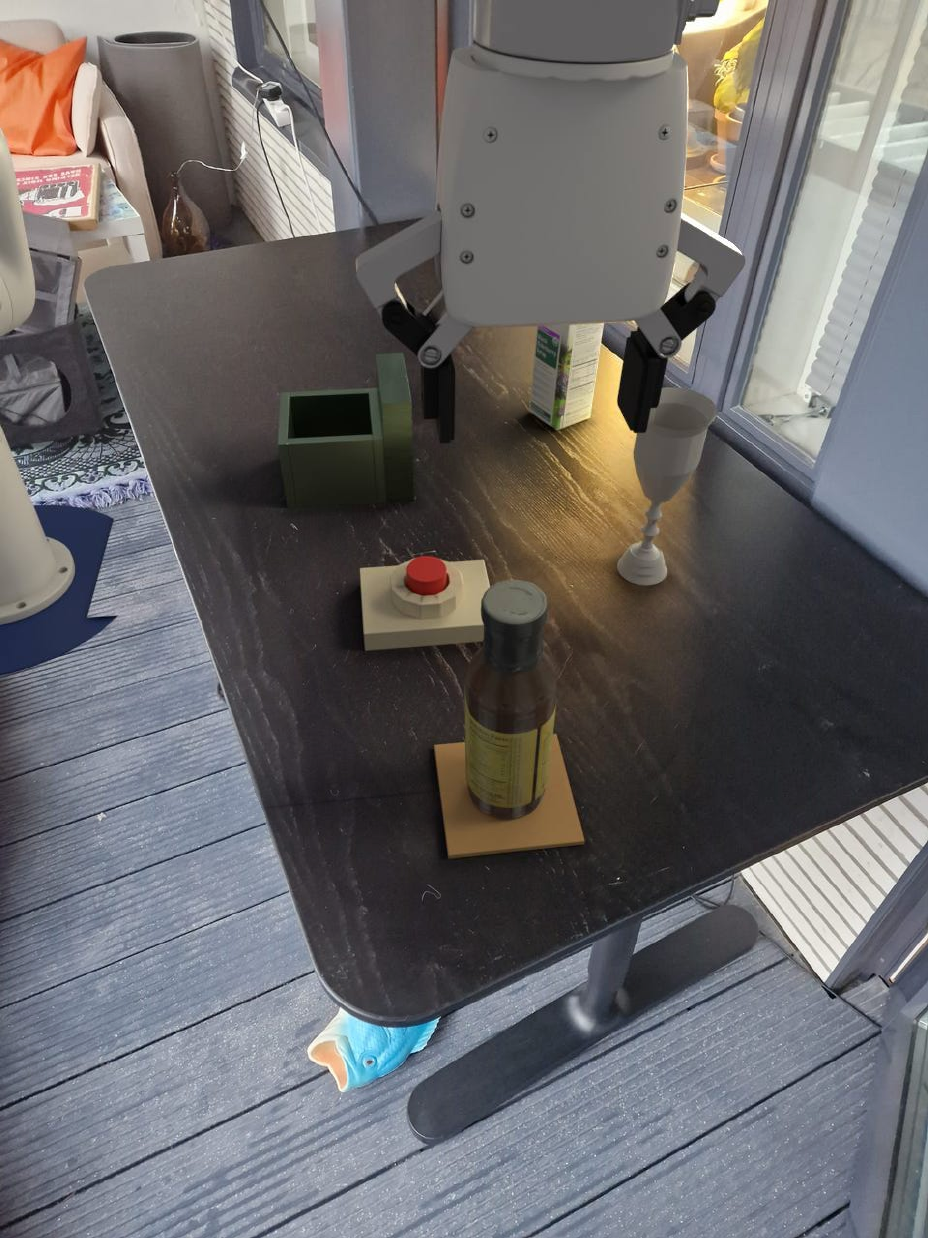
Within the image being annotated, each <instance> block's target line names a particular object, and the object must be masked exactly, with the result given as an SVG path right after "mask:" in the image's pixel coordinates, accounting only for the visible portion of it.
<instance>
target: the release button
mask: <svg viewBox="0 0 928 1238" xmlns="http://www.w3.org/2000/svg"><path fill="white" fill-rule="evenodd" d="M414 558H415V559H413V558H412V559H413V560H412V561H410V562H409V564H408V565H407V568H406V573H407V586H408V588H409V590H410V591H411V592H413V593H415V594H418V595H422V596H428V595H436V594H438V593H440V592H442V591H443V590H444V589H445V587H446V565H445V564H444V562H443V561H441V560H442V559H441V558H438V557H435V556H430V555H423V556H417V557H414ZM440 559H441V560H440Z"/></svg>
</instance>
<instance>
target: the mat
mask: <svg viewBox="0 0 928 1238" xmlns="http://www.w3.org/2000/svg"><path fill="white" fill-rule="evenodd" d="M560 746H561V745H560V743H559V739H558V734H557V733H553V736H552V745H551V754H550V765H549V774H548V781H547V785H546V789H545V792H544V795H543V798H542V800H541V802H540V803H539V805H538V806H537V808H536V809H535V810H534V811H533V812H531V813H530V814H527V815H525V816H523V817H520V818H516V819H511V820H501V819H497V818H495V817H493V816H490V815H488V814H486V813H484V812H483V811H481V810H480V809H478V808H477V807H476V806H475V805H474V803H473V802H472V800H471V798H470V794H469V792H468V787H467V780H466V775H465V741H462V742H452V743H441V744H440V743H439V744H433V751H434V760H435V767H436V774H437V775H436V776H437V781H438V790H439V797H440V798H439V799H440V806H441V813H442V820H443V821H442V822H443V828H444V836H445V843H446V851H447V859H458V858H460V859H461V858H469V857H478V856H487V855H496V854H504V853H506V854H507V853H515V852H525V851H535V850H545V849H554V848H555V849H556V848H563V847H572V846H581V845H584V844H585V837H584V834H583V829H582V827H581V822H580V819H579V815H578V810H577V807H576V804H575V800H574V795H573V791H572V789H571V785H570V780H569V776H568V772H567V770H566V766H565V761H564V758H563V754H562V751H561V747H560Z"/></svg>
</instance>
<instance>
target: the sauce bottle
mask: <svg viewBox="0 0 928 1238" xmlns="http://www.w3.org/2000/svg"><path fill="white" fill-rule="evenodd" d="M548 607H549V605H548V599H547V596H546V594H545V592H544V591H543V590H542V589H540V587H538V586H537V585H536V584H535V583H532V582H529V581H527V580H522V579H521V580H520V579H507V580H502V581H498V582H496V583H494V584H492V585H490V588H489V589H488V590H487V591H486V592H485V594H484V596H483V598H482V601H481V618H482V622H483V624H484V639H483V642H481V643H482V645H481V648H480V649H479V650H477V651H476V652H475V654H474V655H473V656H472V658H471V659H470V661H469V663H468V665H467V669H466V673H465V674H466V675H465V681H464V697H463V699H464V742H465V775H466V780H467V787H468V792H469V794H470V798H471V800H472V802H473V803H474V805H475V806H476V807H477V808H478V809H480V810H481V811H483V812H484V813H486V814H488V815H490V816H493V817H495V818H497V819H501V820H511V819H516V818H520V817H523V816H525V815H527V814H530V813H531V812H533V811H534V810H535V809H536V808H537V806H538V805H539V803H540V802H541V800H542V798H543V795H544V792H545V789H546V785H547V781H548V774H549V765H550V754H551V745H552V736H553V734H554V727H555V719H556V717H555V716H556V707H557V697H556V693H557V683H558V682H557V673H556V669H555V665H554V663H553V662H552V660H551V658H550V657H549V655H548V654H547V653H546V652H545V650H544V640H543V639H544V638H543V636H544V627H545V626H546V623H547V621H548Z"/></svg>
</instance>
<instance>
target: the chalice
mask: <svg viewBox="0 0 928 1238" xmlns="http://www.w3.org/2000/svg"><path fill="white" fill-rule="evenodd" d="M717 415H718V408H717V405H716V404H715V403H714V402H713V400H712V399H710V398H709V397H708V396H706V395H705V394H703V393H700V392H698V391H695V390H692V389H688V388H683V387H672V386H665V387H662V391H661V396H660V401H659V405H658V407H657V408H651V410H650V415H649V420H648V426H647V430H646V432H645V433H636V436H635V442H634V447H633V461H634V467H635V472H636V477H637V480H638V482H639V485H640V488H641V490H642V494H643V495H644V497H645V498H646V499H647V500H649V501H651V504H650V506H649V508H648V509H647V510H646V511H645V516H646V519H647V521H646V524H645V525H643V526H641V528H640V530H641V533H642V534H643V540H642V541H637V542H635V543H633V544H631V545H629V547H628V548H627V549H626V551H625V552H624V553H623V554H622V556H621V557H620V558H619V559H618V561H617V563H616V569H617V571H618V573H619V575H620V576H621V577H622V578H623V579H624V580H626V581H627V582H629V583H631V584H635V585H638V586H653V585H657V584H659V583H662V582H663V581H664V580H665V579H666V578H667V575H668V567H667V565H666V560H665V557H664V553H663V551H662V550H661V549H660V548H659V547H658V545H656V544H654V539H655V536H658V535H659V533H660V529H659V527H658V522H659V520H660V519H661V518H663V513H662V511H661V506H662V503H666V502H669V501H670V500H672V499H673V498H674V497H675V496H676V494H678V492H679V491H681V489H682V488H683V487H684V486H685V485H686V483H688V481H689V479H691V477H692V475H693V473H694V472H695V471H696V469H697V467H698V465H699V463H700V461H701V457H702V453H703V449H704V445H705V441H706V436H707V433H708V429H709V427H710V426H711V425H712V424H713V422H714V421H715V420H716V418H717Z"/></svg>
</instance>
